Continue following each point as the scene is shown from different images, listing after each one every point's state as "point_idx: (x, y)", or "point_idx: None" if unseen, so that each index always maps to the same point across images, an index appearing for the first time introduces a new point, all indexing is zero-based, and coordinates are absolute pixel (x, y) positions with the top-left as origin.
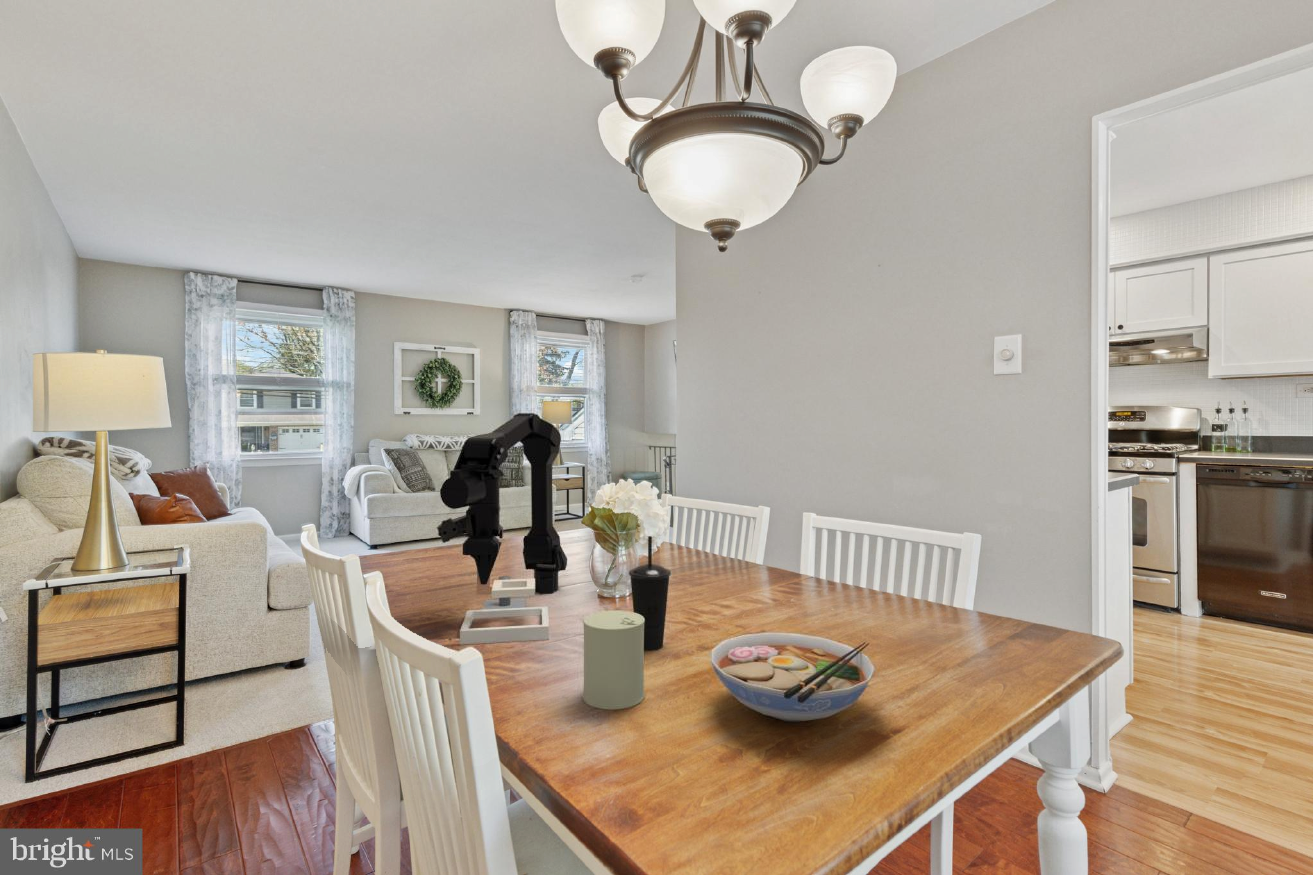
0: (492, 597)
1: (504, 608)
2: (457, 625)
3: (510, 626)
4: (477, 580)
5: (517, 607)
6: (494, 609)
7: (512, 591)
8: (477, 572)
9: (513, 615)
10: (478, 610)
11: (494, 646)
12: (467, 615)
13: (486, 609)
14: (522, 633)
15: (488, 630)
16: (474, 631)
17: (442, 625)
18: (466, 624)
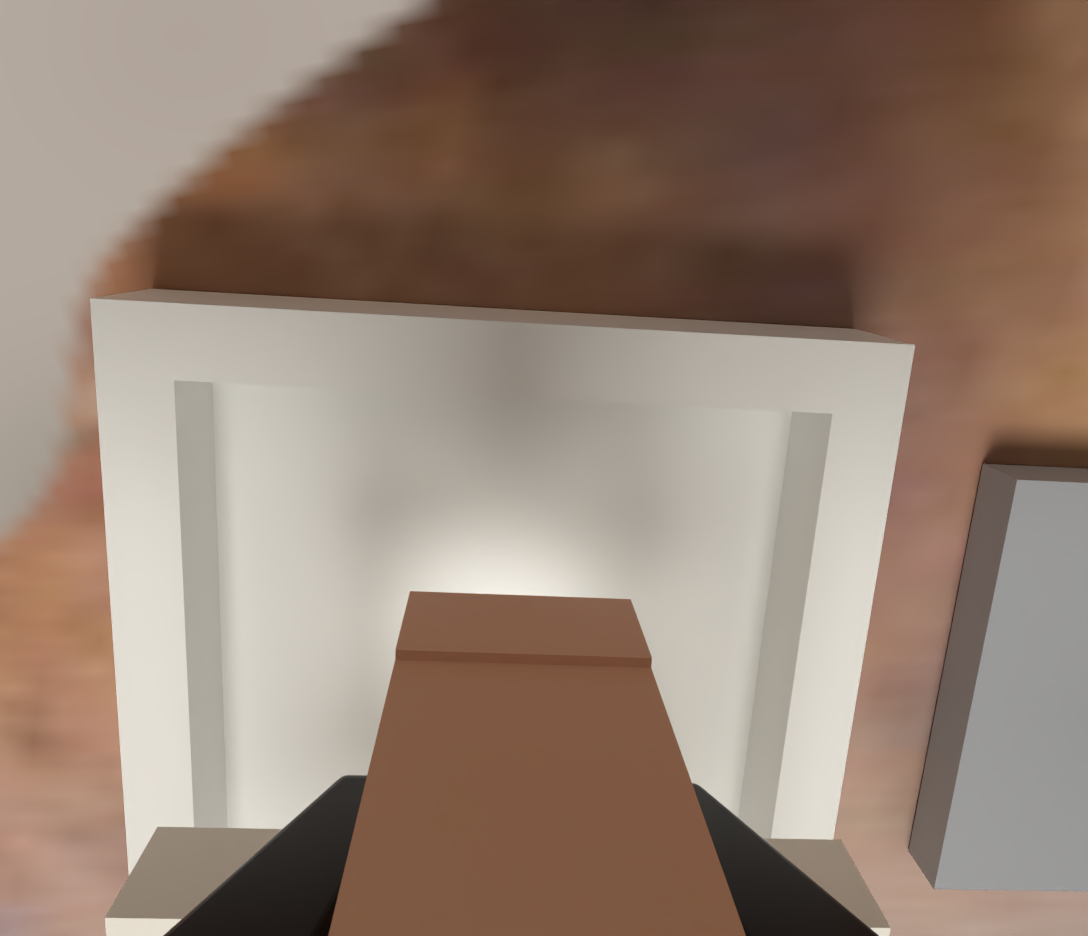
0: (152, 843)
1: (1050, 703)
2: (796, 226)
3: (187, 809)
4: (382, 748)
5: (1037, 819)
6: (853, 644)
7: None
8: (339, 890)
9: (755, 791)
10: (868, 473)
11: (69, 605)
12: (703, 355)
13: (1084, 528)
14: None
15: (115, 601)
16: (104, 458)
17: (847, 55)
18: (340, 361)
